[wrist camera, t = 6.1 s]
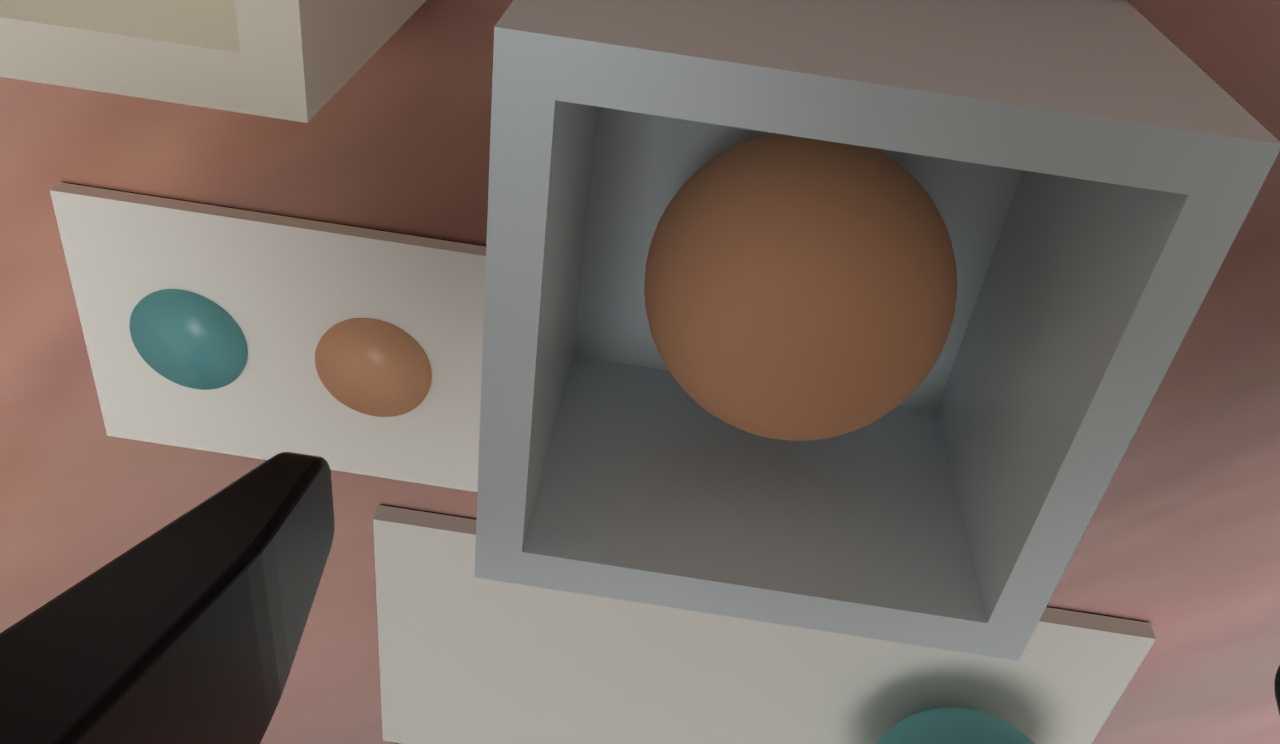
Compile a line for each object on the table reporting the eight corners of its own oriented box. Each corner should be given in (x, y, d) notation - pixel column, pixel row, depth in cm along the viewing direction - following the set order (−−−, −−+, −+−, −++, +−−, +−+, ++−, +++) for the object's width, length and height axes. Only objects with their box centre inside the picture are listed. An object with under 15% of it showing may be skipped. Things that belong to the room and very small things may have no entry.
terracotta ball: (892, 351, 16) (928, 527, 13) (640, 314, 16) (613, 480, 13) (968, 108, 14) (1036, 246, 11) (675, 65, 14) (652, 189, 11)
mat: (1027, 825, 24) (1031, 841, 23) (388, 725, 24) (382, 740, 23) (1149, 622, 20) (1155, 639, 19) (379, 504, 20) (373, 519, 19)
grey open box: (957, 427, 17) (1018, 660, 13) (540, 363, 18) (474, 577, 13) (1121, -5, 13) (1283, 145, 9) (574, -86, 13) (494, 26, 9)
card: (483, 481, 19) (478, 495, 19) (115, 425, 19) (104, 438, 19) (493, 247, 16) (487, 259, 16) (60, 181, 16) (46, 192, 16)
